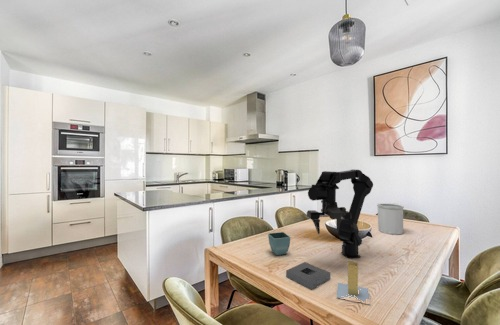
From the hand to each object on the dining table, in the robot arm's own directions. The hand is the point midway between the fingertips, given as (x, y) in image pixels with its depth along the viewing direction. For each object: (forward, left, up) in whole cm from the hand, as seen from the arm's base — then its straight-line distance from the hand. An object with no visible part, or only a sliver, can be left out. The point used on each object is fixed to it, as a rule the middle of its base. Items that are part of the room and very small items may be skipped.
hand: (328, 233), depth 103 cm
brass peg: (+2, +24, -13) cm, 28 cm away
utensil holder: (-60, -40, -13) cm, 74 cm away
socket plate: (+14, +13, -13) cm, 23 cm away
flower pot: (+20, -12, -13) cm, 27 cm away
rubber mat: (+2, +24, -13) cm, 28 cm away
